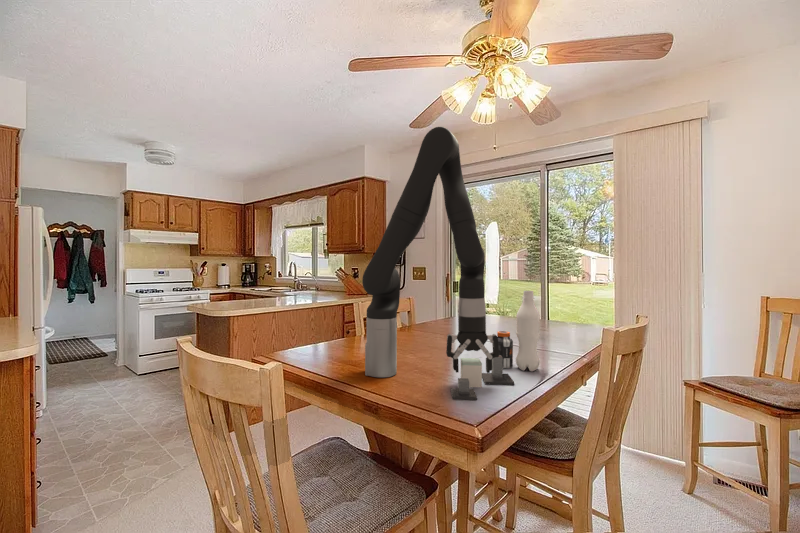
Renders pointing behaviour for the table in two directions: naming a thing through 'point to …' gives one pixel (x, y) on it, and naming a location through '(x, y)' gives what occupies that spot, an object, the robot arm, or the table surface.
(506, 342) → the pill bottle
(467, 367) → the cream upright block
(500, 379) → the tall post
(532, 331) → the water bottle
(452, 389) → the short post
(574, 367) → the table surface
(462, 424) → the table surface
